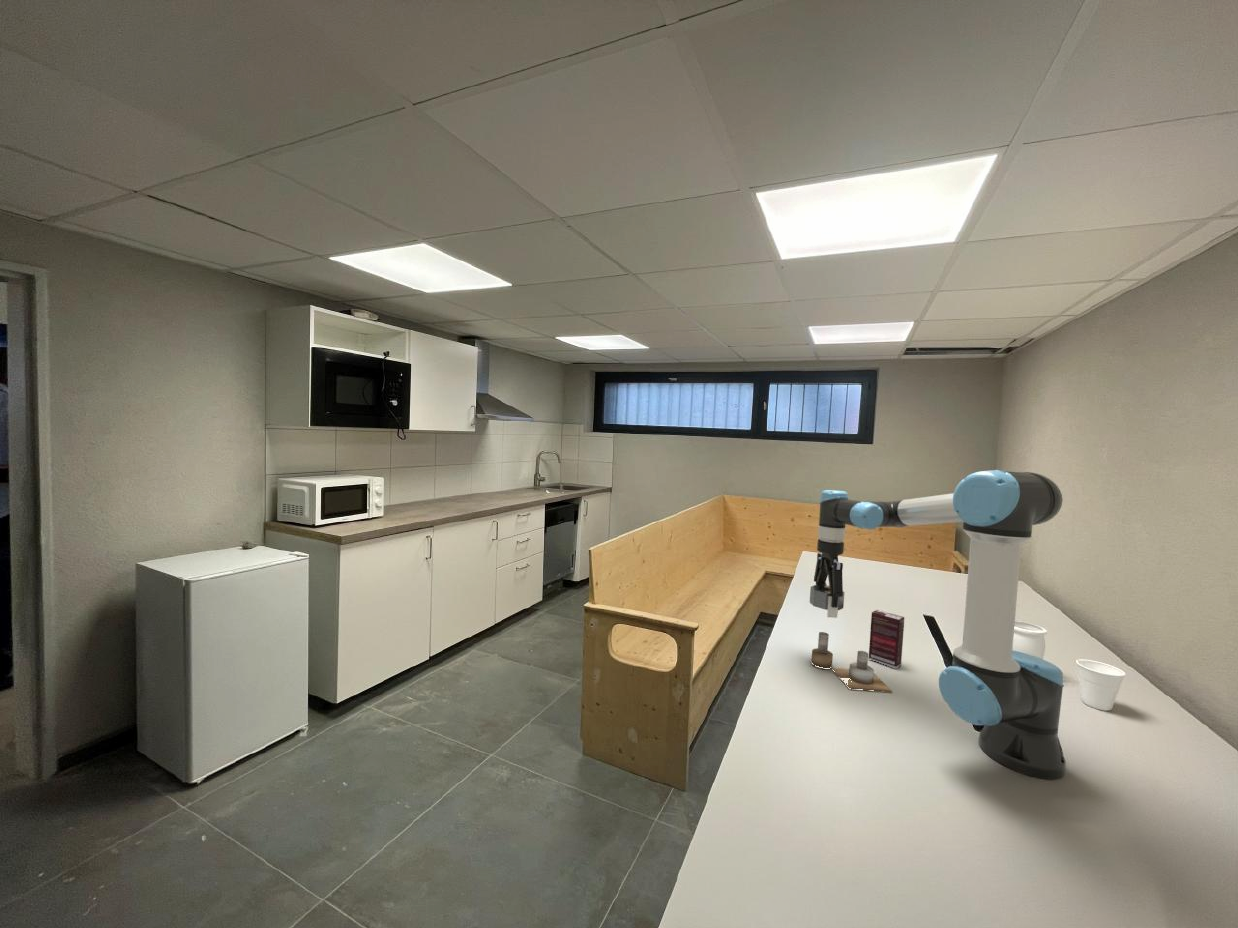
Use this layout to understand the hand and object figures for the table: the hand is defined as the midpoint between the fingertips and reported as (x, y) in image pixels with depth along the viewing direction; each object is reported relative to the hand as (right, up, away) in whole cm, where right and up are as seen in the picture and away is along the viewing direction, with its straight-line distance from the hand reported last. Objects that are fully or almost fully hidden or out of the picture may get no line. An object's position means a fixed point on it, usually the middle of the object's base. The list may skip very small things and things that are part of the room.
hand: (825, 611), depth 151 cm
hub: (+7, -18, -8) cm, 21 cm away
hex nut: (0, +2, 0) cm, 2 cm away
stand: (-1, -17, +1) cm, 17 cm away
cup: (+69, -22, -15) cm, 74 cm away
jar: (+64, -21, +4) cm, 67 cm away
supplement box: (+21, -18, +5) cm, 28 cm away
